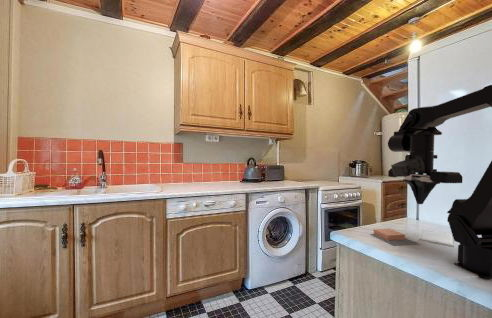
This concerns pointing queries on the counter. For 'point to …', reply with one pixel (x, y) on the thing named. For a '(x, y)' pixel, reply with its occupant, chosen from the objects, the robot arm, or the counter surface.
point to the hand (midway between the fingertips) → (419, 204)
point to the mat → (397, 241)
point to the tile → (389, 234)
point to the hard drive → (437, 237)
